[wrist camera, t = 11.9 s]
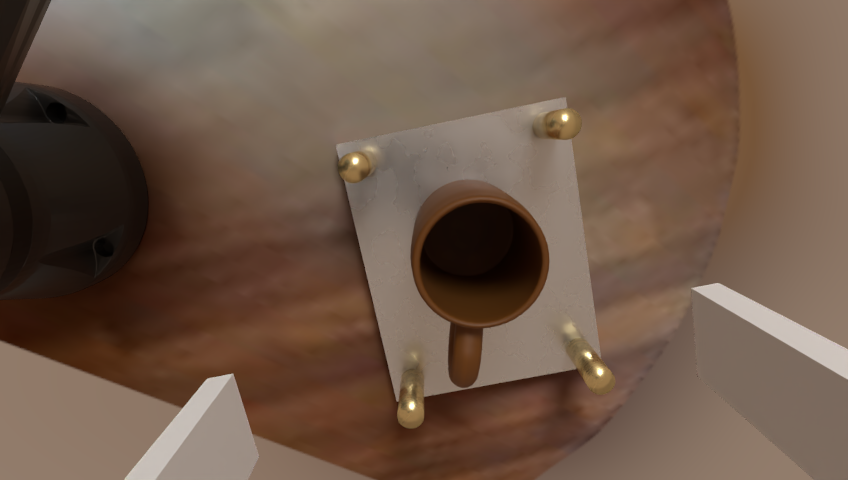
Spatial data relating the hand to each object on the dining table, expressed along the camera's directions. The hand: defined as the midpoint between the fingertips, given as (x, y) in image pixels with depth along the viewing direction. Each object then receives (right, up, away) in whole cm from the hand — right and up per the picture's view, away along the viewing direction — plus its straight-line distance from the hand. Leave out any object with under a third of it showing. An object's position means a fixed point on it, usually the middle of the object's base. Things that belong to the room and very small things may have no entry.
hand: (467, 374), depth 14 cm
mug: (+2, +2, +22) cm, 22 cm away
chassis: (+2, +3, +23) cm, 23 cm away
